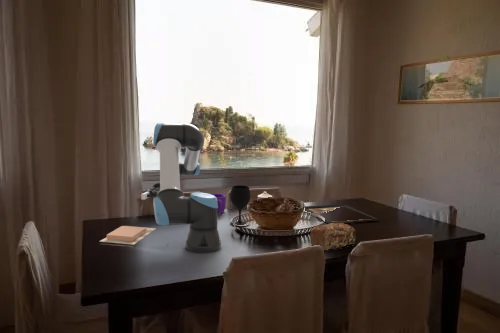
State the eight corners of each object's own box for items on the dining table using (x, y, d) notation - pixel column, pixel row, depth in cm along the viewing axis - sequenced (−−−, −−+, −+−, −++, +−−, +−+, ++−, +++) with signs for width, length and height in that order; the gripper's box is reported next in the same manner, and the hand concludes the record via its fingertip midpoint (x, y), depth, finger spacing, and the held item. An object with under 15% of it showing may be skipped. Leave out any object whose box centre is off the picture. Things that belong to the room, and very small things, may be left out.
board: (125, 228, 188) (125, 225, 188) (156, 230, 186) (156, 228, 186) (99, 244, 165) (99, 241, 165) (134, 247, 163) (134, 244, 162)
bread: (324, 252, 163) (325, 230, 161) (308, 245, 172) (309, 223, 170) (356, 246, 172) (357, 224, 171) (339, 239, 181) (340, 218, 180)
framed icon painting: (295, 210, 235) (295, 205, 235) (341, 206, 250) (341, 202, 249) (332, 228, 201) (333, 223, 200) (383, 223, 216) (384, 218, 215)
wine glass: (226, 225, 198) (227, 187, 195) (234, 220, 207) (235, 184, 205) (244, 228, 194) (245, 189, 191) (252, 223, 204) (253, 186, 201)
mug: (203, 210, 228) (203, 193, 226) (221, 209, 232) (222, 192, 231) (212, 217, 212) (212, 200, 210) (231, 216, 216) (231, 199, 215)
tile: (122, 225, 180) (106, 234, 167) (146, 227, 179) (132, 236, 165) (122, 230, 181) (106, 239, 167) (146, 232, 179) (132, 242, 165)
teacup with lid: (274, 212, 227) (274, 193, 226) (259, 213, 225) (260, 193, 223) (267, 207, 239) (268, 189, 237) (253, 208, 236) (254, 189, 235)
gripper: (172, 196, 210) (155, 205, 187) (149, 194, 212) (130, 203, 189) (172, 182, 210) (155, 190, 186) (149, 181, 212) (130, 188, 188)
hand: (142, 196), depth 188 cm, fingers closed
